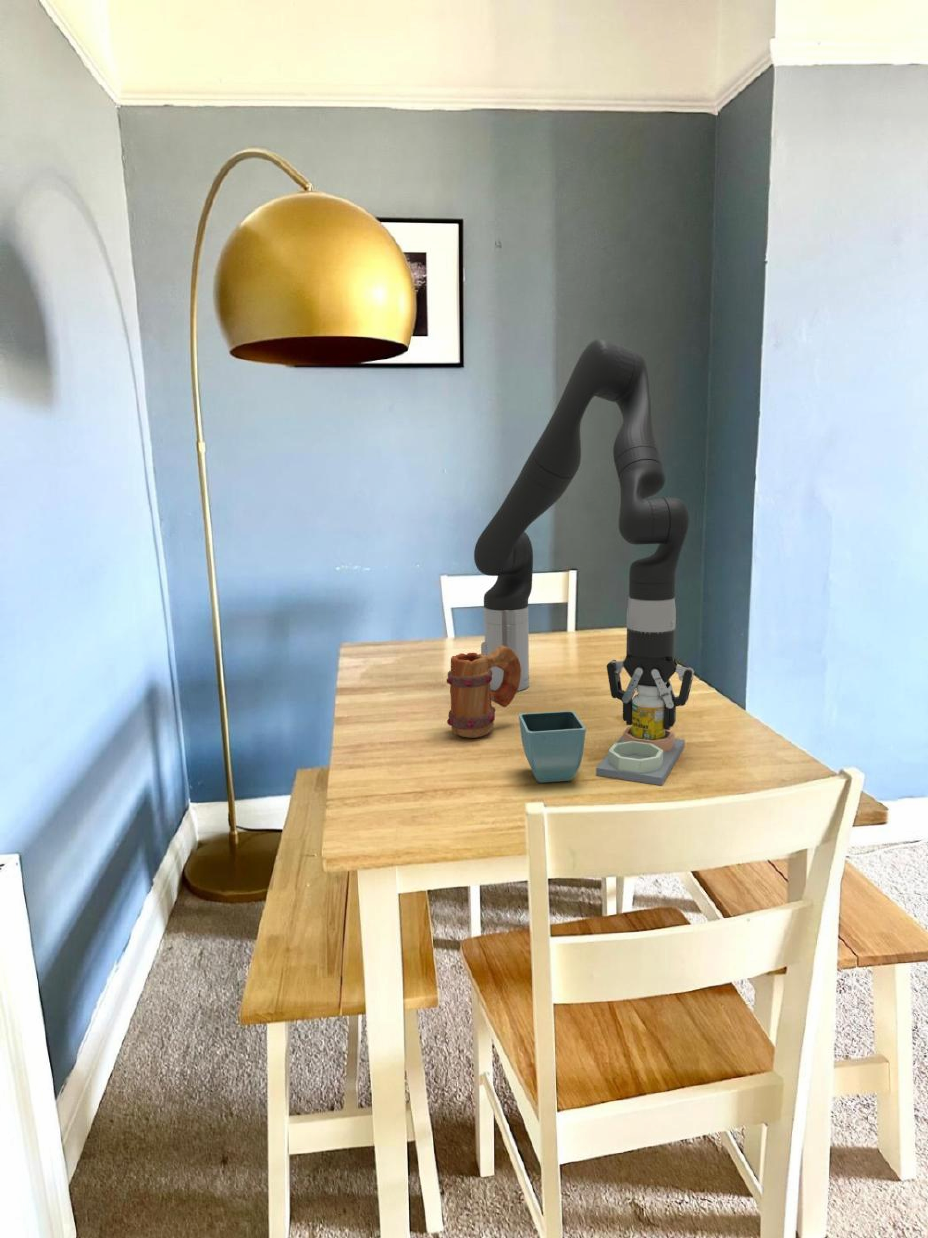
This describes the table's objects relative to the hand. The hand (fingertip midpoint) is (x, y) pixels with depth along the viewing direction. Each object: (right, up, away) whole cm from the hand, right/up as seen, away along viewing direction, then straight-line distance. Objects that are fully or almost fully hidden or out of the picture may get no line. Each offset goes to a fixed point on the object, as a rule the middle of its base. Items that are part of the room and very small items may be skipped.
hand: (648, 725), depth 129 cm
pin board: (-2, -5, -3) cm, 6 cm away
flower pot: (-17, -7, -8) cm, 20 cm away
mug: (-26, -3, +12) cm, 29 cm away
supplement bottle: (0, -3, +1) cm, 3 cm away
